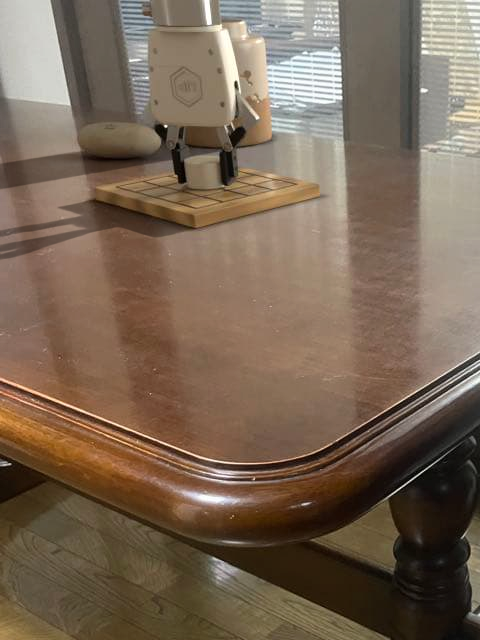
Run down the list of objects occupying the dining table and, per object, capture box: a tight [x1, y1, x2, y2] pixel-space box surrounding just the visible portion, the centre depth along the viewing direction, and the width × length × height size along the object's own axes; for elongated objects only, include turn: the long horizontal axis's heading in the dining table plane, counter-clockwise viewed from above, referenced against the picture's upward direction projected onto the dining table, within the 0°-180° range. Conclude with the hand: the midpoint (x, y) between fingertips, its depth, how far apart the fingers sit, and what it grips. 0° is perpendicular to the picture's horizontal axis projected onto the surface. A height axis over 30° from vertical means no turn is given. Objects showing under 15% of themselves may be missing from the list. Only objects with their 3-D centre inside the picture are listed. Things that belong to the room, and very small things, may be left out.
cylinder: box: [184, 154, 226, 190], centre depth 110 cm, size 5×5×3 cm
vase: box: [184, 17, 273, 148], centre depth 139 cm, size 15×15×17 cm
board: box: [93, 166, 321, 229], centre depth 111 cm, size 20×20×2 cm
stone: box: [76, 121, 162, 160], centre depth 130 cm, size 6×6×12 cm
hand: (207, 181), depth 110 cm, fingers closed on cylinder, 5 cm apart
